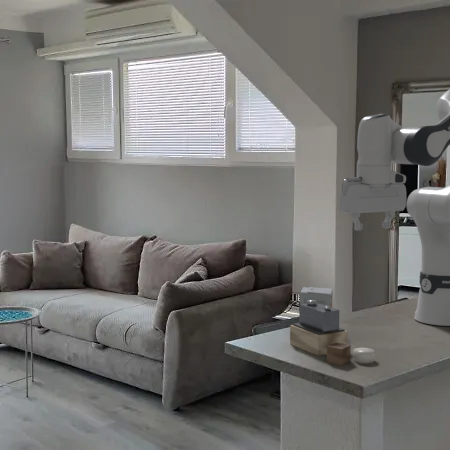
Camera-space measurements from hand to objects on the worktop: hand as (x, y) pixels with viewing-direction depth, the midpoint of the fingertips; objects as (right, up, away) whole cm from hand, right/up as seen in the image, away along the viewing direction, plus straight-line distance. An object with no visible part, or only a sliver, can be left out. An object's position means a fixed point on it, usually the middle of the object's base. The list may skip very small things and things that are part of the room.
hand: (372, 229), depth 183 cm
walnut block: (-12, -31, -18) cm, 38 cm away
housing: (-15, -25, -7) cm, 30 cm away
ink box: (-14, -29, +9) cm, 33 cm away
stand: (-15, -30, -6) cm, 34 cm away
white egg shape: (-6, -31, -17) cm, 36 cm away
